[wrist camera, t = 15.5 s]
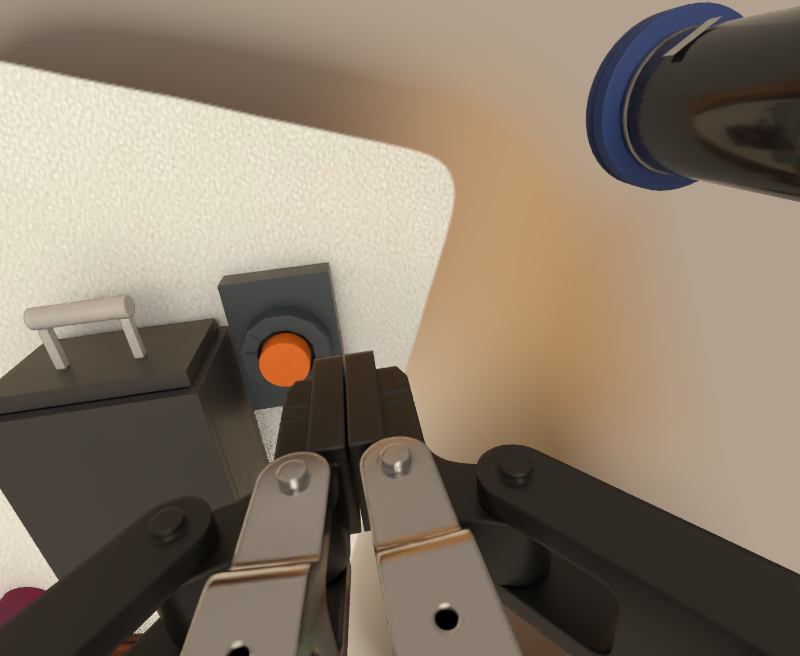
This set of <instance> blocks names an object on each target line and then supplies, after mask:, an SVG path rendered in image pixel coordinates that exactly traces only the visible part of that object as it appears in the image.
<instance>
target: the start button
mask: <svg viewBox="0 0 800 656" xmlns="http://www.w3.org/2000/svg"><path fill="white" fill-rule="evenodd" d="M310 364H311V350H310V347H309V345H308V344H307V342H306V341H305V340H304V339H303V338H301V337H300V336H298V335H295V334H292V333H280V334H276V335H274V336H272V337H271V338H269V339H268V340H267V341H266V342H265V344H264V346H263V349H262V352H261V356H260V359H259V369H260V372H261V374H262V375H263V377H264V378H265V379H266V380H267V381H269V382H270V383H272V384H274V385H277V386H283V387H287V386H292V385H293V384H294V383H295V381H301V380H304V379H305V378H306V376H307V375H308V373H309V370H310Z"/></svg>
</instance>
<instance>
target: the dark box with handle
mask: <svg viewBox="0 0 800 656" xmlns="http://www.w3.org/2000/svg"><path fill="white" fill-rule="evenodd" d="M134 313H135V305H134V302H133V300H132V298H131V297H130V296H128V295H124V296H117V297H109V298H101V299H94V300H86V301H79V302H71V303H64V304H56V305H49V306H41V307H33V308H28V309H26V310H25V312H24V322H25V324H26V326H27V327H28V328H29V329H31V330H38V329H39V330H38V333H39V335H40V337H41V339H42V341H43V344H42V345H40V346H39V347H38V348H37V349H36V350H34V351H33V352H32V353H31V354H30V355H28V356H27V357H26V358H25V359H24V360H22V361H21V362H20V363H19V364H18V365H16V366H15V367H14V368H13V369H12V370H10V371H9V372H8V373H7V374H6V375H4V376H3V377H2V378H1V379H0V414H6V413H13V412H20V411H27V410H29V411H36V410H42V409H49V408H56V407H63V406H70V405H76V404H83V403H90V402H97V401H104V400H111V399H117V398H124V397H131V396H138V395H145V394H151V393H158V392H165V391H172V390H179V389H185V388H188V387H190V386H192V384H193V382H194V380H195V378H196V376H197V374H198V372H199V370H200V368H201V366H202V364H203V362H204V360H205V358H206V356H207V354H208V352H209V350H210V348H211V346H212V344H213V342H214V340H215V338H216V336H217V334H218V332H219V331H218V328H217V325H216V321H215V319H214V318H213V319H206V320H199V321H192V322H184V323H177V324H170V325H162V326H155V327H148V328H141V329H137V327H136V324H135V322H134V319H133V317H132V316H133V315H134ZM112 319H120V323H121V325H122V328H123V330H124V331H119V332H111V333H104V334H97V335H90V336H82V337H75V338H68V339H60V340H58V338H57V336H56V334H55V332H54V330H53V327H61V326H68V325H75V324H83V323H90V322H98V321H105V320H112ZM29 411H28V412H29Z"/></svg>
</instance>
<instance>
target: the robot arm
mask: <svg viewBox="0 0 800 656" xmlns="http://www.w3.org/2000/svg"><path fill="white" fill-rule="evenodd" d="M721 17H722V16H721ZM721 17H716V18H712V19H709V20H707V21H706V22H705V23H704V24H700V25H695V26H690V27H686V28H683V29H680V30H678V31H675V32H673V33H671V34H669V35H668V36H666V37H665V38H663V39H662V40H660V41H659V42H658V43H657V44H656V45H654V46H653V47H652V48H651V49H650V50H649V51H648V52H647V53H646V54H645V56H644V57H643V58H642V59H641V61H640V62H639V64H638V65H637V66H636V68H635V70H634V71H633V73H632V75H631V77H630V79H629V81H628V83H627V86H626V88H625V92H624V95H623V99H622V103H621V109H620V129H621V135H622V139H623V142H624V145H625V147H626V149H627V151H628V152H629V154H630V155H631V157H632V158H633V159H634V160H635V161H636V162H637V163H638V164H639V165H641V166H642V167H644V168H646V169H648V170H650V171H653V172H657V173H661V174H668V175H678V176H682V177H687V178H690V179H695V180H700V181H704V182H709V183H714V184H718V185H723V186H728V187H732V188H737V189H742V190H746V191H751V192H756V193H761V194H765V195H770V196H774V197H779V198H783V199H789V200H793V201H798V202H800V6H799V7H793V8H788V9H783V10H778V11H774V12H769V13H764V14H759V15H754V16H749V17H744V18H739V19H732V20H728V21H723V22H718V23H714V22H716V21H717V20H718V19H719V18H721ZM360 510H361V515H362V520H363V525H364V531H371V532H372V538H373V545H374V551H375V556H376V562H377V568H378V573H379V579H380V584H381V590H382V596H383V601H384V607H385V613H386V618H387V624H388V629H389V635H390V640H391V646H392V652H393V656H523V653H522V651H521V648H520V646H519V644H518V641H517V639H516V636H515V634H514V632H513V629H512V627H511V624H510V622H509V620H508V617H507V615H506V612H505V610H504V607H503V605H504V606H506V607H507V608H508V609H510V610H511V611H512V612H514V613H515V614H516V615H518V616H519V617H520V618H522V619H523V620H524V621H526V622H527V623H528V624H530V625H531V626H532V627H534V628H535V629H536V630H538V631H539V632H540V633H542V634H543V635H544V636H546V637H547V638H548V639H550V640H551V641H552V642H554V643H555V644H556V645H558V646H559V647H561V648H562V649H563V650H564V651H565V652H567V653H568V654H569V655H571V656H800V574H798V573H796V572H794V571H791V570H789V569H787V568H785V567H783V566H781V565H779V564H777V563H775V562H772V561H770V560H768V559H766V558H764V557H762V556H760V555H757V554H755V553H753V552H751V551H749V550H747V549H745V548H743V547H741V546H739V545H736V544H734V543H732V542H730V541H728V540H726V539H724V538H722V537H720V536H717V535H715V534H713V533H711V532H709V531H707V530H705V529H703V528H700V527H698V526H696V525H694V524H692V523H690V522H688V521H686V520H683V519H681V518H679V517H677V516H675V515H673V514H671V513H669V512H667V511H664V510H662V509H660V508H658V507H656V506H654V505H652V504H649V503H647V502H645V501H643V500H641V499H639V498H637V497H635V496H633V495H630V494H628V493H626V492H624V491H622V490H620V489H618V488H616V487H613V486H612V485H609V484H607V483H605V482H603V481H601V480H599V479H597V478H595V477H592V476H590V475H588V474H586V473H584V472H582V471H580V470H578V469H575V468H573V467H571V466H569V465H567V464H565V463H563V462H561V461H559V460H556V459H554V458H552V457H550V456H548V455H546V454H544V453H541V452H540V451H537V450H535V449H532V448H530V447H526V446H522V445H502V446H497V447H495V448H492V449H490V450H488V451H487V452H485V453H484V454H483V455H482V456H481V457H480V459H479V461H478V463H477V464H465V463H457V462H452V461H448V460H445V459H442V458H440V457H439V456H437V455H435V454H434V453H433V452H431V451H430V450H429V448H428V447H427V445H426V444H425V441H424V438H423V434H422V430H421V426H420V423H419V419H418V415H417V411H416V407H415V404H414V401H413V396H412V392H411V389H410V385H409V381H408V377H407V375H405V374H404V373H403V372H402V371H401V370H400V369H399V368H398V367H396V366H394V367H388V368H381V369H376V367H375V361H374V354H373V350H372V351H365V352H358V353H351V354H345V362H344V357H343V355H338V356H331V357H325V358H318V359H314V364H313V377H312V379H307V380H301V381H295V383H294V384H293V385H292V386H291V388H290V389H289V390H288V391H287V392H286V394H285V398H284V404H283V411H282V415H281V422H280V427H279V433H278V439H277V445H276V451H275V457H274V461H273V462H271V463H270V464H268V465H267V466H266V467H265V468H264V469H263V470H262V471H261V473H260V474H259V476H258V478H257V480H256V483H255V487H254V490H253V491H252V492H251V493H249V494H248V495H246V496H244V497H242V498H240V499H238V500H236V501H233V502H231V503H228V504H226V505H224V506H221V507H219V508H216V509H214V510H211V508H210V505H209V504H208V502H207V501H205V500H204V499H202V498H200V497H196V496H181V497H176V498H172V499H170V500H167V501H164V502H162V503H160V504H158V505H156V506H155V507H153V508H151V509H150V510H148V511H147V512H146V513H144V514H143V515H142V516H141V517H139V518H138V519H137V520H135V521H134V522H133V523H132V524H130V525H129V526H128V527H127V528H125V529H124V530H123V531H121V532H120V533H119V534H118V535H116V536H115V537H114V538H113V539H111V540H110V541H109V542H107V543H106V544H105V545H104V546H102V547H101V548H100V549H99V550H97V551H96V552H95V553H93V554H92V555H91V556H90V557H88V558H87V559H86V560H85V561H83V562H82V563H81V564H79V565H78V566H77V567H76V568H74V569H73V570H72V571H71V572H69V573H68V574H67V575H65V576H64V577H63V578H62V579H60V580H59V581H58V582H57V583H55V584H54V585H53V586H51V587H50V588H49V589H48V590H46V591H45V592H44V593H43V594H41V595H40V596H39V597H38V598H36V599H35V600H34V601H32V602H31V603H30V604H29V605H27V606H26V607H25V608H24V609H22V610H21V611H20V612H18V613H17V614H16V615H15V616H13V617H12V618H11V619H10V620H8V621H7V622H6V623H4V624H3V625H2V626H1V627H0V656H110V655H111V654H112V653H113V652H114V651H115V650H116V649H117V648H118V647H119V646H120V645H121V644H122V643H123V642H125V641H126V640H127V639H128V638H129V637H130V636H131V635H132V634H133V633H134V632H135V631H136V630H137V629H138V628H139V627H140V626H141V625H142V624H143V623H144V622H145V621H146V620H147V619H148V618H149V617H150V616H151V615H152V614H153V613H154V612H155V611H156V610H157V612H158V614H159V616H160V618H159V619H158V620H157V621H156V622H155V623H154V624H153V625H152V626H151V627H150V628H149V629H148V630H147V631H146V632H145V633H144V634H143V635H142V636H141V637H140V638H139V639H138V640H137V641H136V642H135V643H134V644H133V645H132V646H131V647H130V648H129V649H128V650H127V651H126V652H125V653H124V654H123V655H122V656H347V647H348V626H349V606H350V585H351V564H350V560H349V558H350V551H351V550H350V534H355V533H361V518H360ZM502 604H503V605H502Z"/></svg>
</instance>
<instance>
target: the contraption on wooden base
mask: <svg viewBox="0 0 800 656" xmlns="http://www.w3.org/2000/svg"><path fill="white" fill-rule="evenodd" d="M141 636H142V635H131V636H130V637H129V638H128V639H127V640H126V641H125V642H123V643H122V644H121V645H120V646H119V647H118V648H117V649H116V650H115V651H114V652H113V653H112V654H111V655H110V656H122V655H123V654H124V653H125V652H126V651H127V650H128V649H129V648H130V647H131V646H132V645H133V644H134V643H135V642H136V641H137V640H138V639H139V638H140V637H141Z"/></svg>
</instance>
